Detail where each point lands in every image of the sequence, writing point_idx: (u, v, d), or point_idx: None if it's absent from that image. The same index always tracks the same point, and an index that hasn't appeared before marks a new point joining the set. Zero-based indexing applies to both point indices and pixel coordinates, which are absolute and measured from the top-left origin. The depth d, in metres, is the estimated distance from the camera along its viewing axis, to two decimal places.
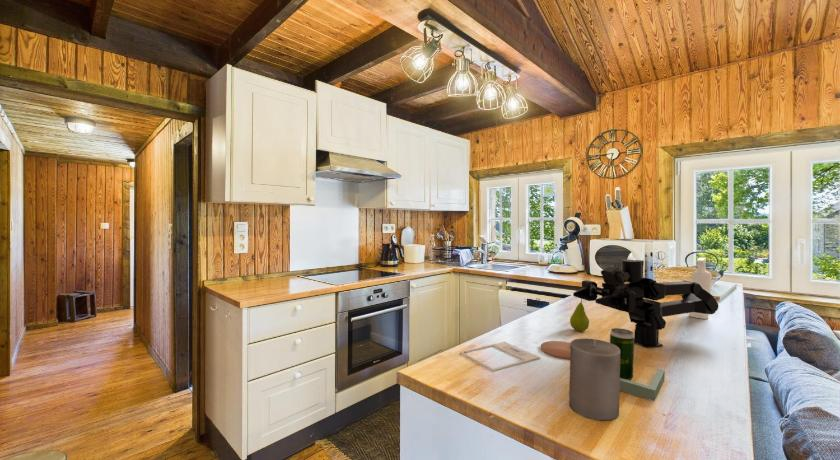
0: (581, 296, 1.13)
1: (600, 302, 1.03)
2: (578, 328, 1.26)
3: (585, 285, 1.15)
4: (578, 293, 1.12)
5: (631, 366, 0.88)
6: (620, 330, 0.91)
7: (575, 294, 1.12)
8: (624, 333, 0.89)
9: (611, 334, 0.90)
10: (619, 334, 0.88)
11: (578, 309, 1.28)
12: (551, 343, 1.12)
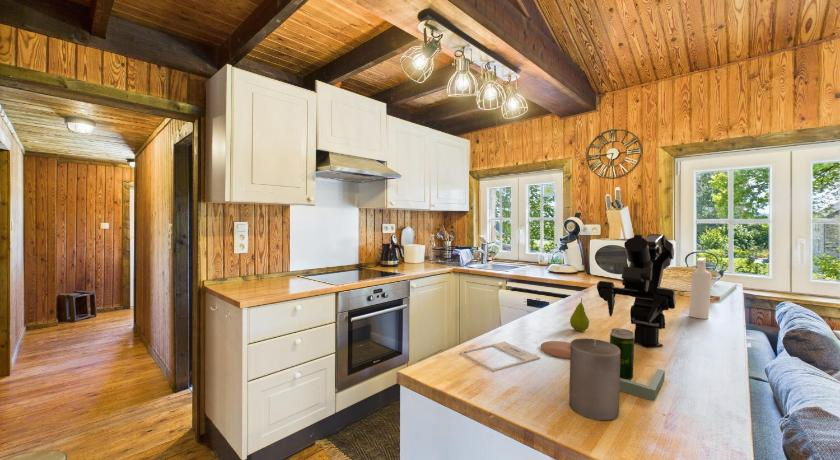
0: (613, 308, 1.01)
1: (651, 319, 0.93)
2: (578, 328, 1.26)
3: (607, 293, 1.02)
4: (612, 310, 0.99)
5: (631, 366, 0.88)
6: (620, 330, 0.91)
7: (611, 314, 0.99)
8: (624, 333, 0.89)
9: (611, 334, 0.90)
10: (619, 334, 0.88)
11: (578, 309, 1.28)
12: (551, 343, 1.12)
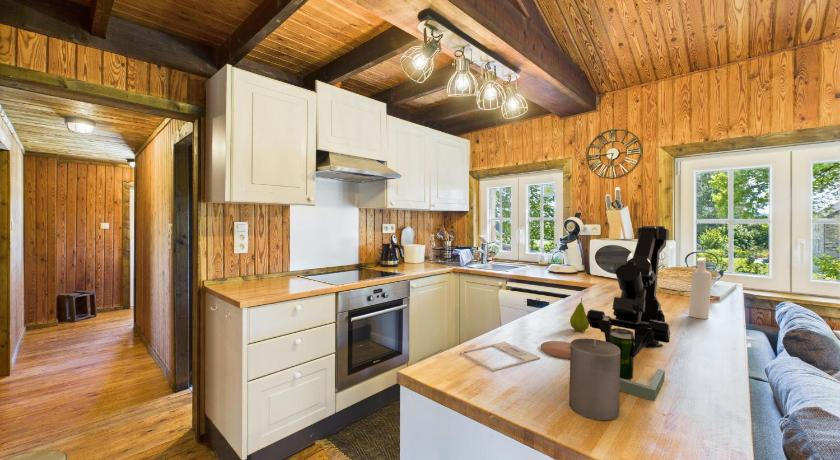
0: None
1: (636, 353, 0.88)
2: (578, 328, 1.26)
3: (605, 325, 0.94)
4: None
5: (631, 366, 0.88)
6: (620, 330, 0.91)
7: None
8: (624, 333, 0.89)
9: (611, 334, 0.90)
10: (619, 334, 0.88)
11: (578, 309, 1.28)
12: (551, 343, 1.12)
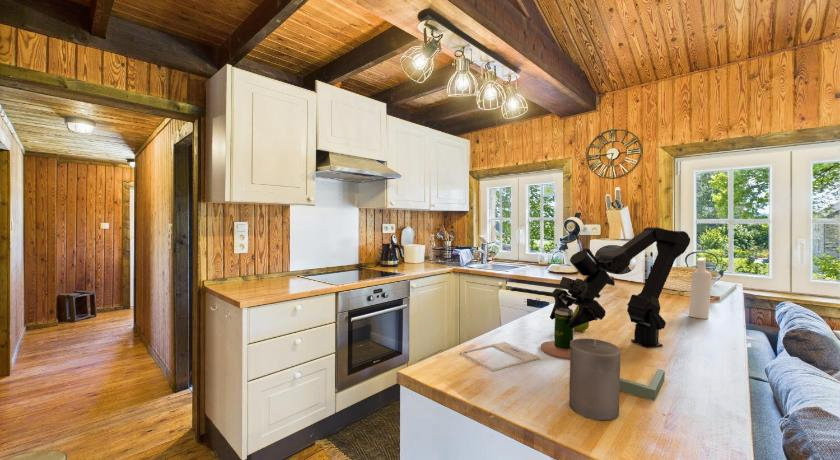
0: None
1: (573, 325, 1.03)
2: (578, 328, 1.26)
3: (556, 299, 1.14)
4: (554, 314, 1.12)
5: (566, 339, 1.05)
6: (564, 309, 1.08)
7: (552, 317, 1.12)
8: (561, 310, 1.07)
9: None
10: (557, 311, 1.07)
11: (578, 309, 1.28)
12: (551, 343, 1.12)
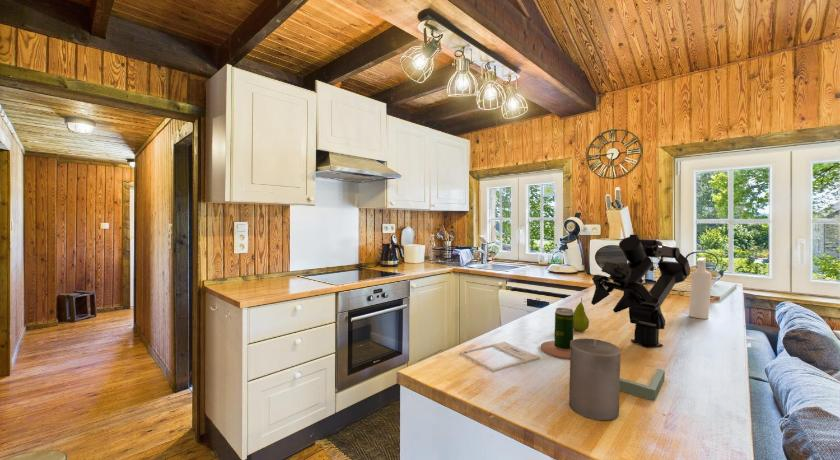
0: (599, 299, 1.13)
1: (618, 309, 1.03)
2: (578, 328, 1.26)
3: (596, 285, 1.14)
4: (595, 299, 1.12)
5: (566, 338, 1.05)
6: (565, 309, 1.08)
7: (593, 302, 1.12)
8: (562, 310, 1.07)
9: None
10: (557, 310, 1.07)
11: (578, 309, 1.28)
12: (551, 343, 1.12)
